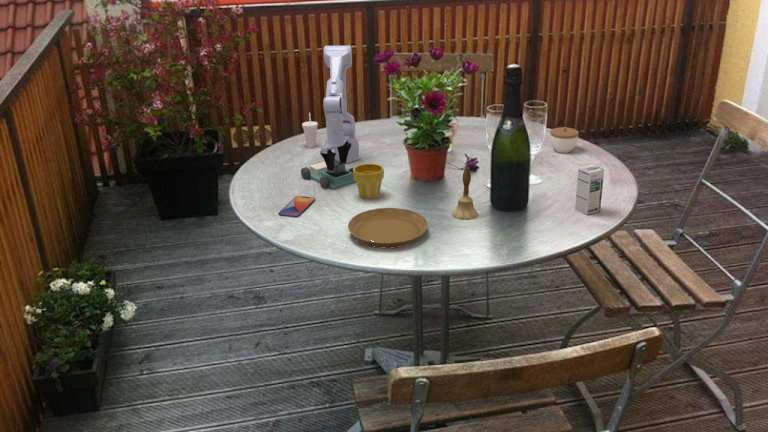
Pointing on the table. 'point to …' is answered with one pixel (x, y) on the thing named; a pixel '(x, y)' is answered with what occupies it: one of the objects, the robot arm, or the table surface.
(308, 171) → the chassis
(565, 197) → the table surface
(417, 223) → the plant saucer
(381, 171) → the plant pot
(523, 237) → the table surface
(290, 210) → the smartphone
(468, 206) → the hand bell
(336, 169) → the dark grey upright block
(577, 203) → the syrup box
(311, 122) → the smoothie
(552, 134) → the lidded jar
